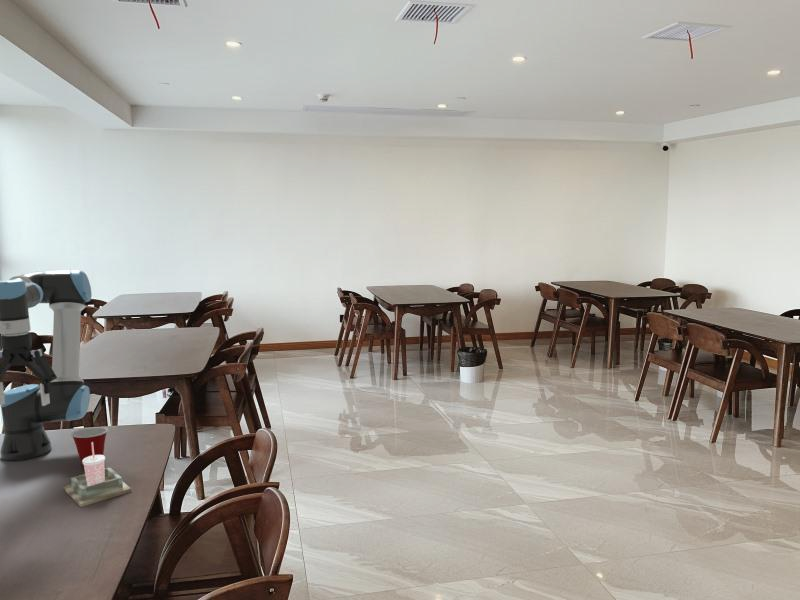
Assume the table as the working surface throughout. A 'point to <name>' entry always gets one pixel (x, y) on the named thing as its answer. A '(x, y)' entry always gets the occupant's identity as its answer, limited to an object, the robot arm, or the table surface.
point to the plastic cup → (89, 441)
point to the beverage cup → (94, 468)
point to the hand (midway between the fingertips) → (23, 404)
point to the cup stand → (96, 488)
